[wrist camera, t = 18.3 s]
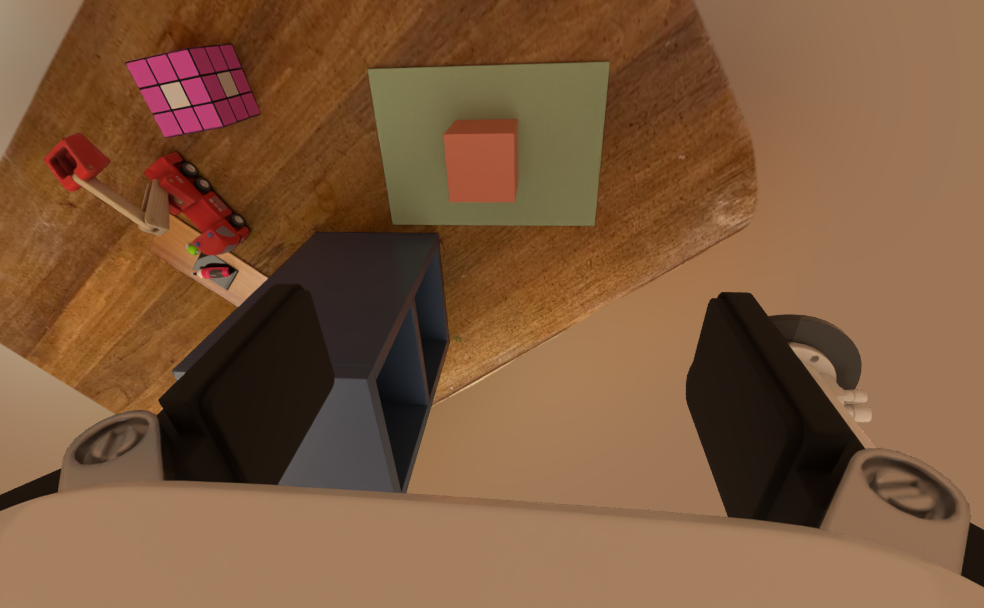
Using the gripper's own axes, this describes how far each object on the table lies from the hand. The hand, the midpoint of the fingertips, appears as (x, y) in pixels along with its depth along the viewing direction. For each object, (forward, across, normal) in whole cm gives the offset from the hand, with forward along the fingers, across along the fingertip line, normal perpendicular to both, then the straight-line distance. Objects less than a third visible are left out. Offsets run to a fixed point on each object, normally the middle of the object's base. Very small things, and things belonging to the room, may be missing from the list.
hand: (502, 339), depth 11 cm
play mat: (+33, +4, +4) cm, 34 cm away
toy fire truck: (+34, +34, +7) cm, 48 cm away
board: (+34, +36, +16) cm, 52 cm away
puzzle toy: (+34, +28, -2) cm, 44 cm away
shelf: (+33, +16, +19) cm, 41 cm away
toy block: (+33, +4, +4) cm, 33 cm away
